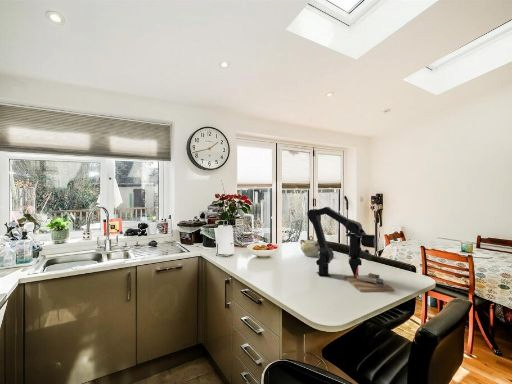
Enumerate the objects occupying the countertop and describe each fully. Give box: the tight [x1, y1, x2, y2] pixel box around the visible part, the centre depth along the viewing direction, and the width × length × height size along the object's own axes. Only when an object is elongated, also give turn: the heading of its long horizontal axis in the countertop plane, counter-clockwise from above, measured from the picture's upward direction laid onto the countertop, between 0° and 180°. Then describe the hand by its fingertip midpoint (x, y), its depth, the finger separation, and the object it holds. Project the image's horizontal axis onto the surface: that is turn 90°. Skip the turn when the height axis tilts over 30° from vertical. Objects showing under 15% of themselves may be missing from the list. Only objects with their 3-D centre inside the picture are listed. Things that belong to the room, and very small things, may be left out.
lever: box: [354, 266, 384, 284], centre depth 133 cm, size 15×3×6 cm, turn 48°
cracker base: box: [343, 272, 395, 293], centre depth 133 cm, size 20×17×4 cm
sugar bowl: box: [299, 235, 320, 257], centre depth 193 cm, size 20×15×15 cm
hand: (354, 273), depth 137 cm, fingers open, 3 cm apart
